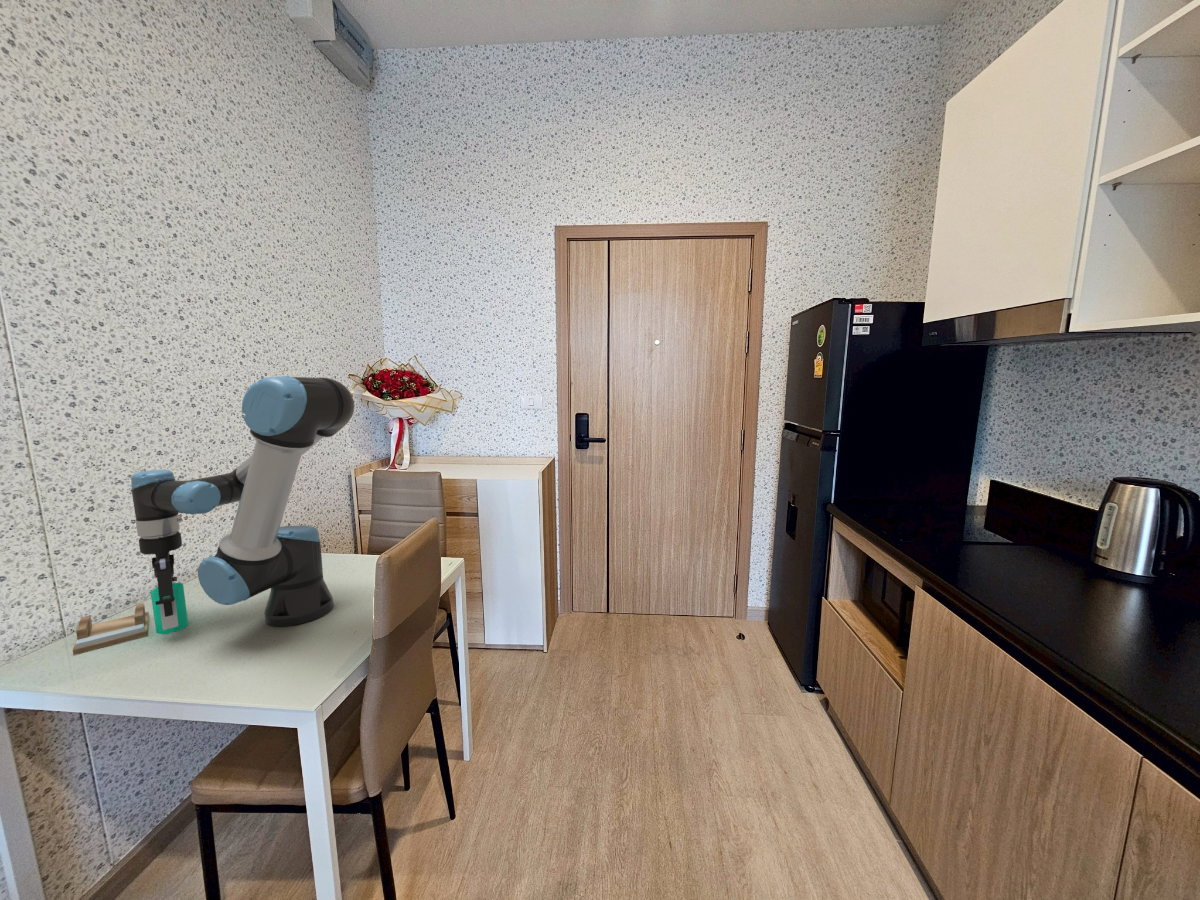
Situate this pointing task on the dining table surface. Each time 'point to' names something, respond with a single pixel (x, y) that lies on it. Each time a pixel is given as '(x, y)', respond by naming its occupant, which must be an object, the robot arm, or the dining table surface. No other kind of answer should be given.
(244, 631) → the dining table surface
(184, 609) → the candle
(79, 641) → the wing slat
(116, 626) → the jig
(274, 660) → the dining table surface
